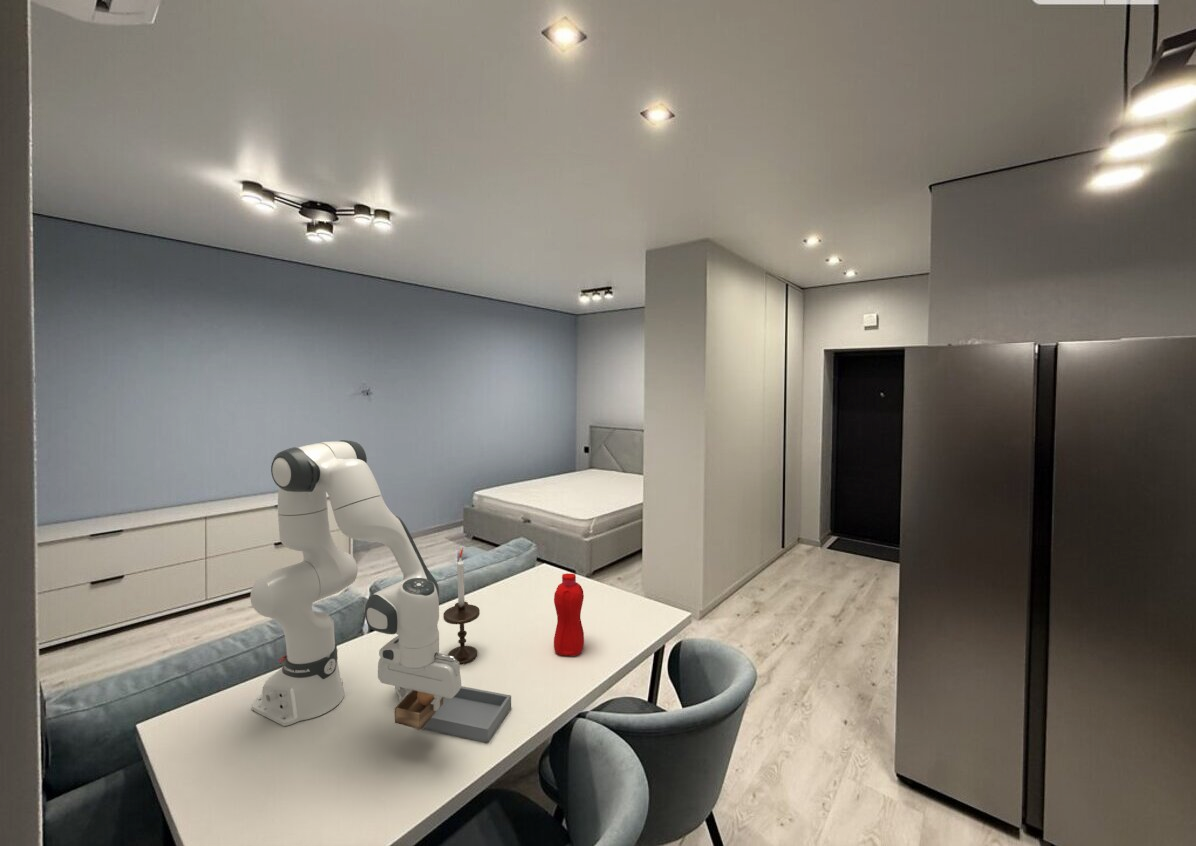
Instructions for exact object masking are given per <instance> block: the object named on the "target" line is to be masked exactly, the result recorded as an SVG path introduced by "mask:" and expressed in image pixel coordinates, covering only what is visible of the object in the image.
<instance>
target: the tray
mask: <svg viewBox="0 0 1196 846" xmlns="http://www.w3.org/2000/svg"><path fill="white" fill-rule="evenodd" d="M511 709H512V695H511V694H506V693H500V692H496V691H489V690H484V689H477V688H472V687H470V686H469V687H468V686H463V685H461V689H460V690H459V692H458V693H457V694H456V695H455V696H454V697H453V698H451V699H450V698H445V697H443V704H442V706H441V707H440V708H439V709H438V710H437V711H436V712H435V714H434V715H433V716H432V717H431V718H430V719H429V721H428V722H427V723H426V724H425V725H424V726H423V727H422V729H421V730H426V731H431V732H435V733H439V734H444V735H449V736H453V737H459V738H462V739H463V738H464V739H467V740H471V741H477V742H481V743H486V744H489V742H490V741H491V739H492V738H493V736H494V735H495V733H496V731H497V730H498V729H499V727H500V725H502V723H503V722H504V720H505V718H506V717H507V716H508V714H509V712H510V711H511Z"/></svg>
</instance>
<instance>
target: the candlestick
mask: <svg viewBox="0 0 1196 846" xmlns="http://www.w3.org/2000/svg"><path fill="white" fill-rule="evenodd" d="M463 550H464V549H463V547H461V549H460V551H459V552H460V553H459V555H458V557H459V560H458V561H457V597H458V598H457V601H458V602H456V603H454V606H451V607H449V608H447V609H445V610H444V611H443V617H442V618H443V621H444V622H446V623H448V624H451V625H459V631H457V636H458V637H459V639H458V641H457V642H458V644H459V646H458V647H455V648H453V649H451V650H450V651H449V652H448V653H447V655H448V656H449V655H450V656H453V657H454V659H456V660H457V661H458V662H459V664H460V666H462V665H466V664H470V663H472V662H474V661H475V660H476V659H477V658H478V649H477V648H475V647H474V646H471V645H466V643H467V638H465V637H466V636H467V633H468V632H467V631H466V630H465V624H468V623H472V622H474V621H475V620H477V619H478V618H479V616H480V614H481V613H480V608H479V607H478V606H477V605H474V604H469V603H468V602H467V601H466V600H465V574H464V573H465V565H464V564H465V563H464V561H463V559H462V556H463ZM458 637H457V638H458Z"/></svg>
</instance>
